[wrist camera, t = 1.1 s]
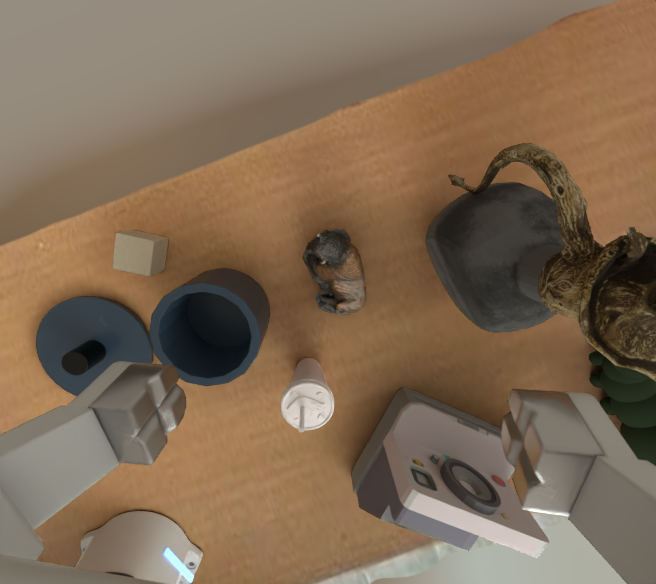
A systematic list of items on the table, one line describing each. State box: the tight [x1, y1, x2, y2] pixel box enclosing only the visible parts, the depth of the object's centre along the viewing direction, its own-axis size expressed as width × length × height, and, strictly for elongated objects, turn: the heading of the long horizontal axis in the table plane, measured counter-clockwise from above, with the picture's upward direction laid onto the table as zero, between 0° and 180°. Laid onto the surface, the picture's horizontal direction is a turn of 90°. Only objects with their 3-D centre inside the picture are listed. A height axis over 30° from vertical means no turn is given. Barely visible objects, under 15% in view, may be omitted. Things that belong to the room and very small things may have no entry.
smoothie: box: [281, 358, 334, 432], centre depth 44 cm, size 6×6×14 cm
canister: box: [149, 268, 270, 386], centre depth 44 cm, size 12×12×10 cm
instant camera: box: [351, 387, 549, 557], centre depth 48 cm, size 21×21×15 cm
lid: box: [36, 296, 153, 396], centre depth 46 cm, size 15×15×5 cm
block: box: [112, 230, 169, 277], centre depth 44 cm, size 4×4×4 cm
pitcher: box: [426, 143, 656, 381], centre depth 33 cm, size 11×19×30 cm, turn 29°
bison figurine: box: [303, 229, 366, 315], centre depth 43 cm, size 12×7×10 cm, turn 20°
